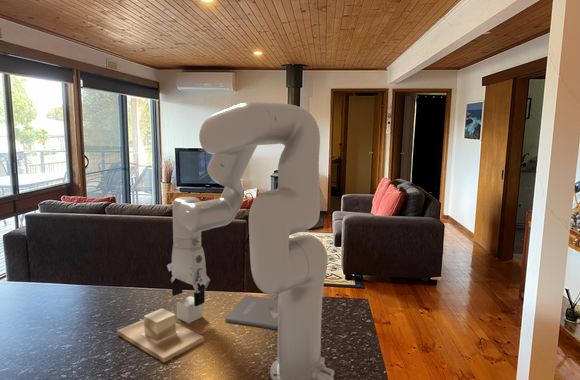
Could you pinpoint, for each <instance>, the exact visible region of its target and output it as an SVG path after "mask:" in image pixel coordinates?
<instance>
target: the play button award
mask: <svg viewBox="0 0 580 380" xmlns="http://www.w3.org/2000/svg"><path fill="white" fill-rule="evenodd" d="M224 322H227V323H232V324H239V325H247V326H251V327H259V328H267V329H274V330H278V298H272V297H271V298H270V297H265V296H263V297H262V296H258V295H257V296H255V295H248V294H245V295H244V297H243V298H242V299H240V302H238V304H236V305H235V307H234V308H233V309H232V310H231V311H230V312H229V313H228V315H227V316H226V317H225V318H224Z"/></svg>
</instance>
